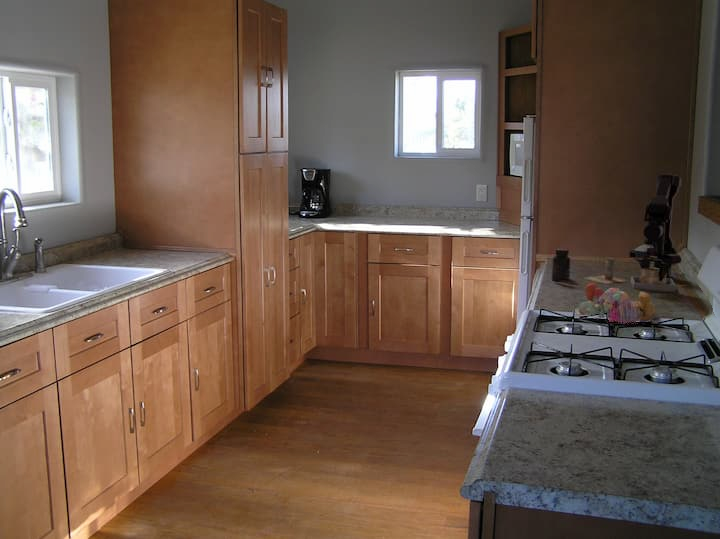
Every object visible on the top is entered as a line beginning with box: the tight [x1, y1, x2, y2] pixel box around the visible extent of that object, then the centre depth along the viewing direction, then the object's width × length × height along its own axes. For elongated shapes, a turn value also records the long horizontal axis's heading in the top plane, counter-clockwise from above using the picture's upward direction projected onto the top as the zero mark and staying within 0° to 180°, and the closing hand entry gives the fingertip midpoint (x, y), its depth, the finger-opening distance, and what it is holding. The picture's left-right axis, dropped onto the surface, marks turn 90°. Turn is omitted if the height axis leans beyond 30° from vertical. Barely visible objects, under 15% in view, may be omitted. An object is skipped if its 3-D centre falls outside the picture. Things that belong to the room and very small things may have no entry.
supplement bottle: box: [551, 248, 572, 283], centre depth 297 cm, size 7×7×12 cm
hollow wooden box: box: [639, 266, 667, 285], centre depth 286 cm, size 6×8×5 cm
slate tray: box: [630, 276, 677, 293], centre depth 286 cm, size 14×14×2 cm
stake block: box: [582, 257, 629, 284], centre depth 297 cm, size 12×12×9 cm
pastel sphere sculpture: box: [574, 282, 660, 325], centre depth 242 cm, size 25×24×9 cm
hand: (652, 279), depth 286 cm, fingers closed on hollow wooden box, 6 cm apart
